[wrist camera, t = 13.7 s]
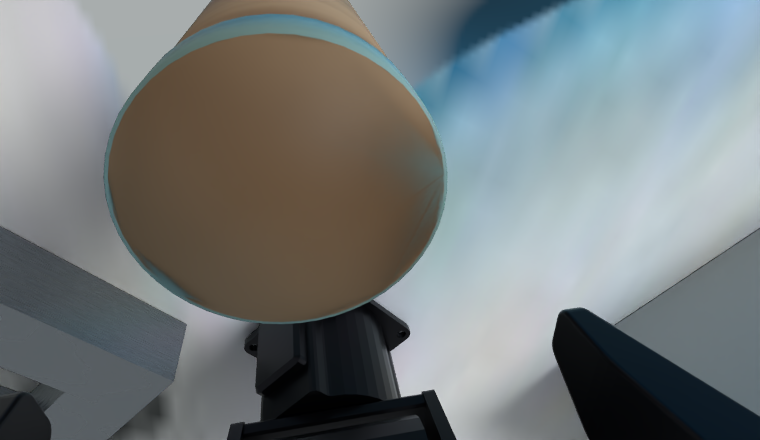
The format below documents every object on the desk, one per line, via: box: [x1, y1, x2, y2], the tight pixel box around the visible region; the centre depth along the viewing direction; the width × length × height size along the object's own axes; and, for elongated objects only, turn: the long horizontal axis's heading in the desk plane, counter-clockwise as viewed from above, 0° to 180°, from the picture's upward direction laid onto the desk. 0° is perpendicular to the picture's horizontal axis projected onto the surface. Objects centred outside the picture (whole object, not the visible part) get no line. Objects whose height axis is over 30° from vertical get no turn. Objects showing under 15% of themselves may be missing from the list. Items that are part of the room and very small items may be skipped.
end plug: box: [104, 0, 447, 324], centre depth 12 cm, size 5×5×12 cm
